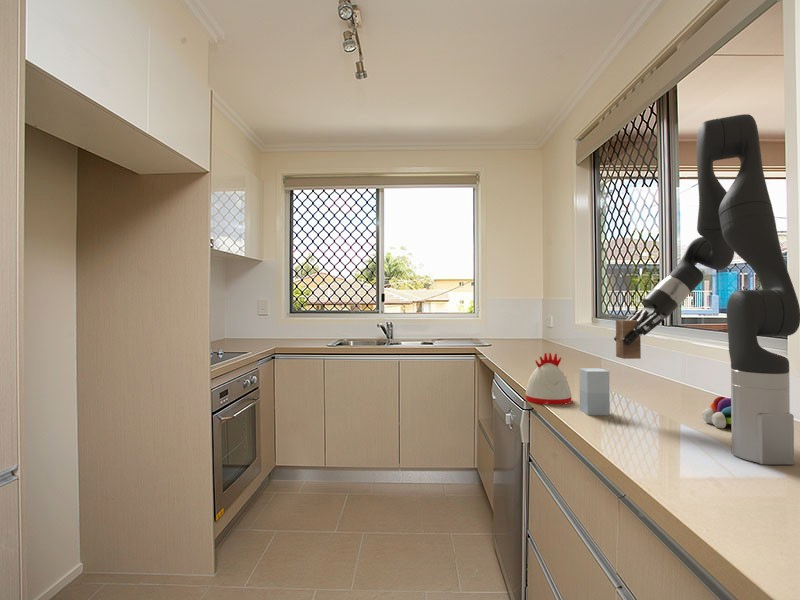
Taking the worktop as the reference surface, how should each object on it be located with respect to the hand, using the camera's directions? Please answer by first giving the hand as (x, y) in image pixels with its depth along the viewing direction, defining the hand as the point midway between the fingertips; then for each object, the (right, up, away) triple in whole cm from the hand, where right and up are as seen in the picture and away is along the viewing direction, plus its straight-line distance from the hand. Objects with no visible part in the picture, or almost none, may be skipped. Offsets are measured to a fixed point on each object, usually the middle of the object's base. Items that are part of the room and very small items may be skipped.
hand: (620, 342), depth 126 cm
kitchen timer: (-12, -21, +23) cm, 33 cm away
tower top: (-5, -14, +6) cm, 16 cm away
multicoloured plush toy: (+22, -20, -9) cm, 31 cm away
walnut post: (+2, -4, 0) cm, 5 cm away
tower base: (-5, -20, +6) cm, 21 cm away
